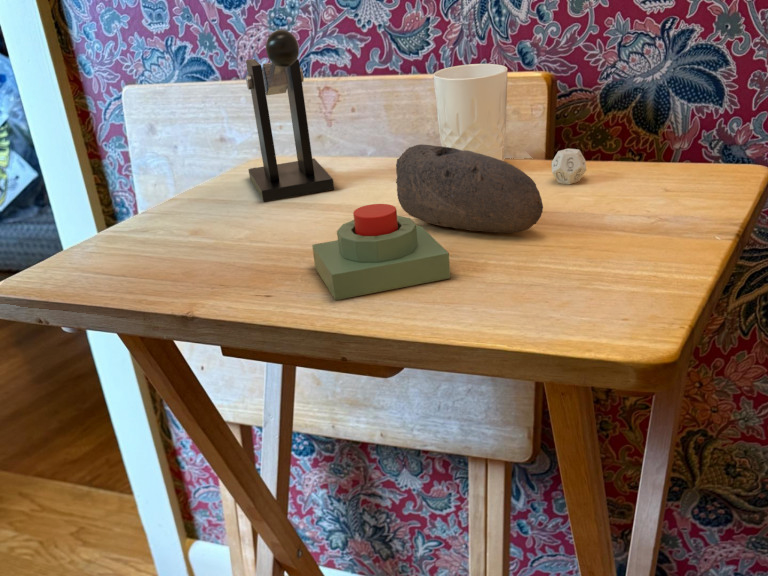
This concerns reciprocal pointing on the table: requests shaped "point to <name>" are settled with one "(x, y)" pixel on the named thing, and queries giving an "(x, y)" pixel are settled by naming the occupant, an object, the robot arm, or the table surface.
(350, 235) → the button block
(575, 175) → the game die
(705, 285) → the table surface
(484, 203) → the perforated stone tool
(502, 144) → the white cup
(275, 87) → the lever
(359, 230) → the button
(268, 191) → the bracket
